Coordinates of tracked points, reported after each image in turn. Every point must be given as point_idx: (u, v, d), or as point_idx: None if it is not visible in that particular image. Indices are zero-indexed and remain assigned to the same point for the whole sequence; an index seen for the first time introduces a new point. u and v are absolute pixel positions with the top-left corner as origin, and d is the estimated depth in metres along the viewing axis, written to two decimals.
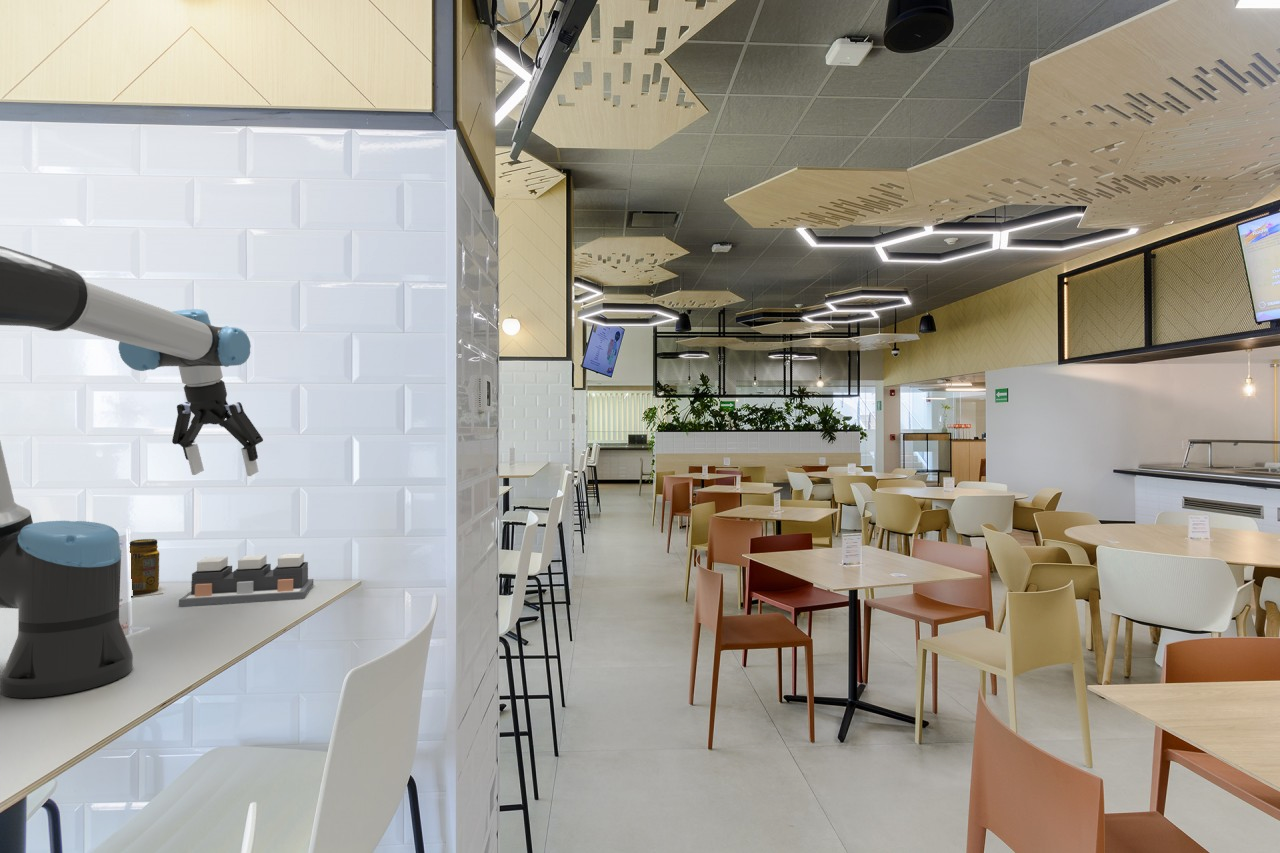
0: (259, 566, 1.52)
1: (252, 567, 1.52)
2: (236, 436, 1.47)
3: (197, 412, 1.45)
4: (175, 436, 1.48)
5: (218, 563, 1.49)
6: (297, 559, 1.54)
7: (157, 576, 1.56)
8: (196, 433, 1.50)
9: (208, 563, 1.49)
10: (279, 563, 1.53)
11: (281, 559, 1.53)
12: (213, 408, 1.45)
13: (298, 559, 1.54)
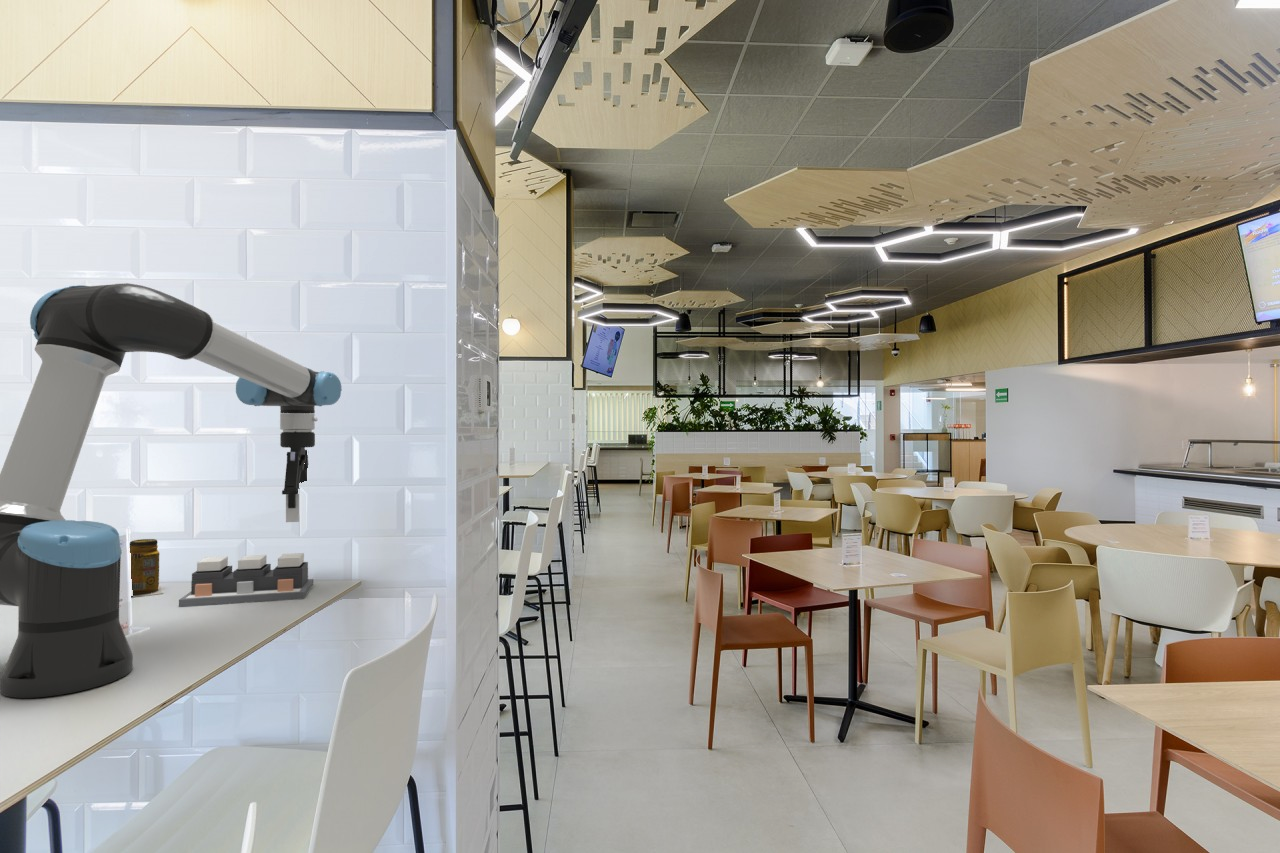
0: (259, 566, 1.52)
1: (252, 567, 1.52)
2: None
3: None
4: None
5: (218, 563, 1.49)
6: (297, 559, 1.54)
7: (157, 576, 1.56)
8: (303, 478, 1.69)
9: (208, 563, 1.49)
10: (279, 563, 1.53)
11: (281, 559, 1.53)
12: None
13: (298, 559, 1.54)
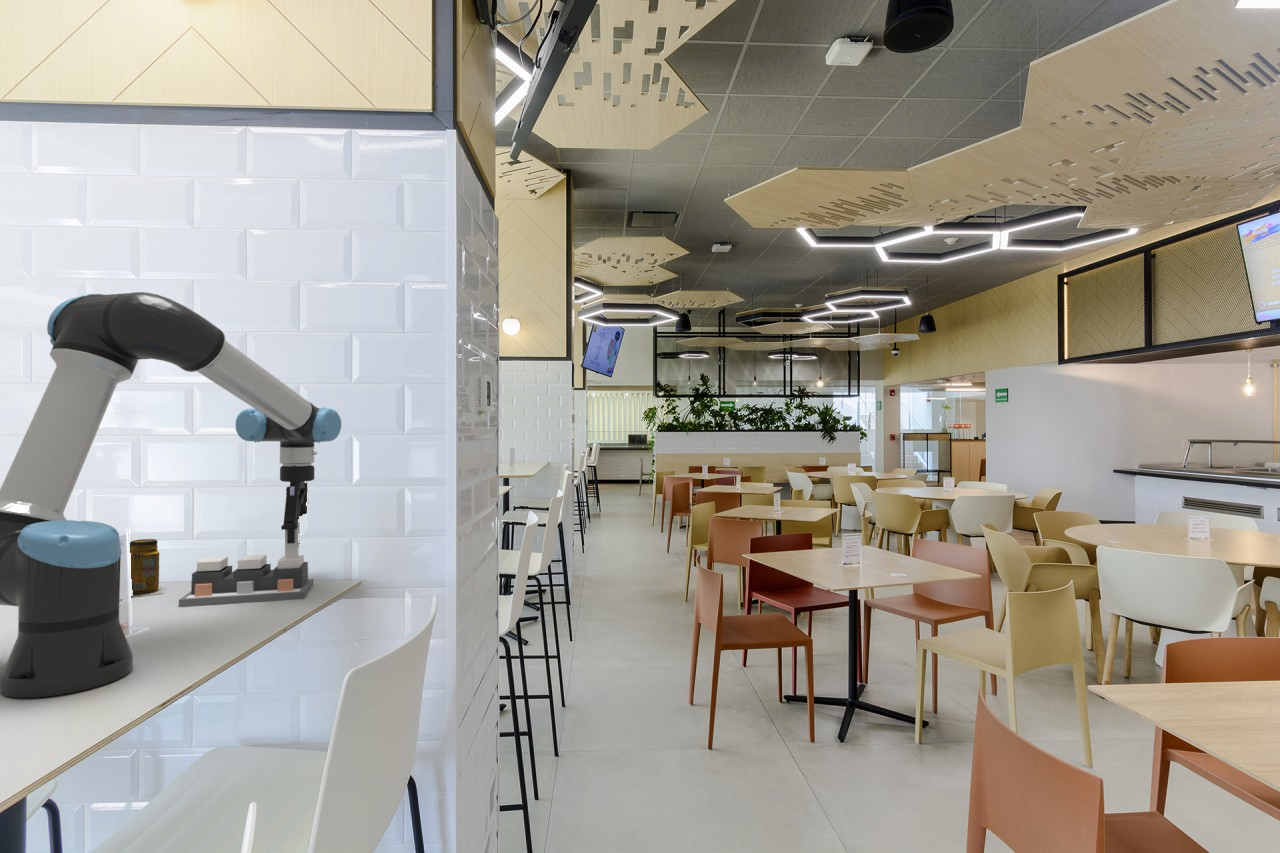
0: (259, 566, 1.52)
1: (252, 567, 1.52)
2: None
3: None
4: None
5: (218, 563, 1.49)
6: (297, 561, 1.54)
7: (157, 576, 1.56)
8: (302, 511, 1.69)
9: (208, 563, 1.49)
10: (279, 565, 1.53)
11: (281, 561, 1.53)
12: None
13: (298, 561, 1.54)
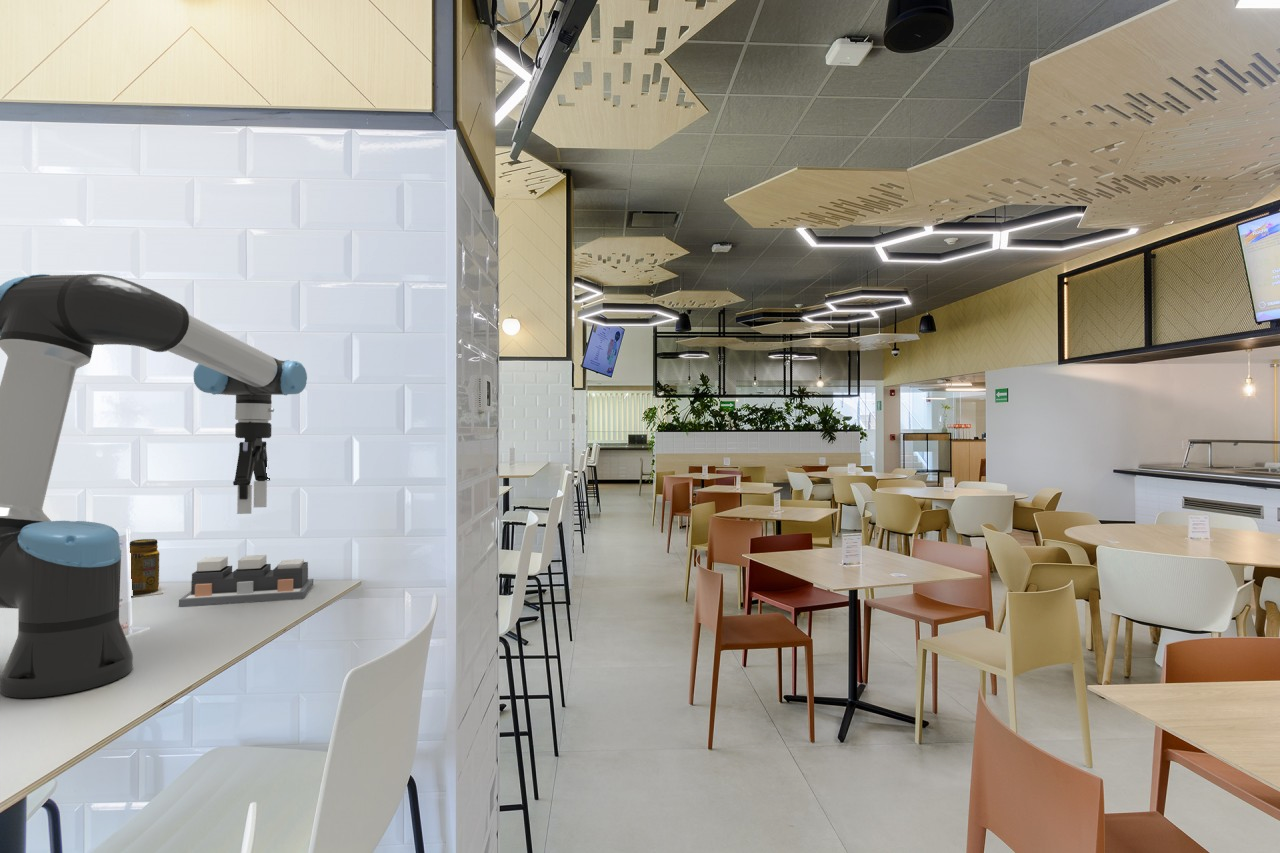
0: (259, 566, 1.52)
1: (252, 567, 1.52)
2: None
3: None
4: None
5: (218, 563, 1.49)
6: (297, 565, 1.54)
7: (157, 576, 1.56)
8: (260, 470, 1.66)
9: (208, 563, 1.49)
10: None
11: (281, 565, 1.53)
12: None
13: (298, 565, 1.54)
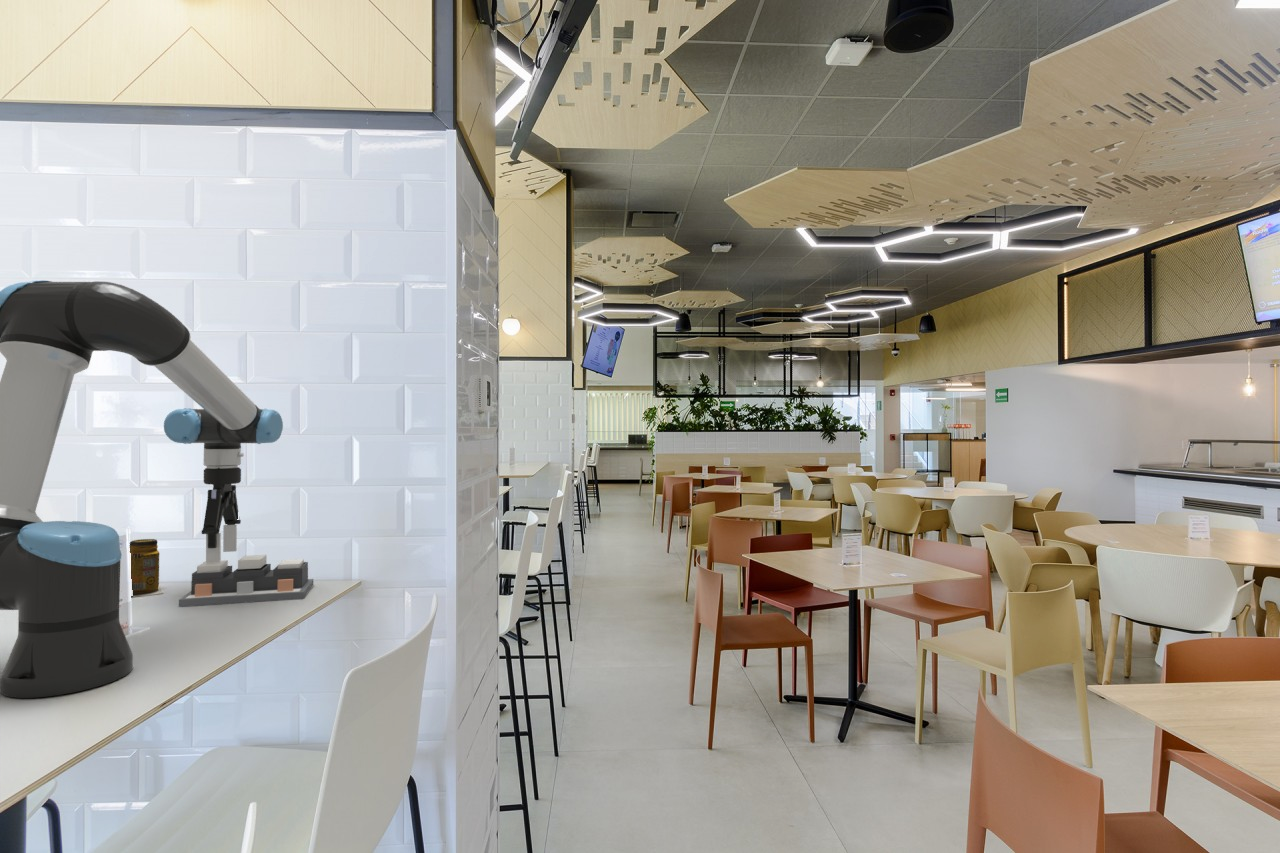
0: (259, 566, 1.52)
1: (252, 567, 1.52)
2: None
3: None
4: None
5: (217, 567, 1.49)
6: (297, 565, 1.54)
7: (157, 576, 1.56)
8: (230, 514, 1.64)
9: (208, 567, 1.49)
10: None
11: (281, 565, 1.53)
12: None
13: (298, 565, 1.54)
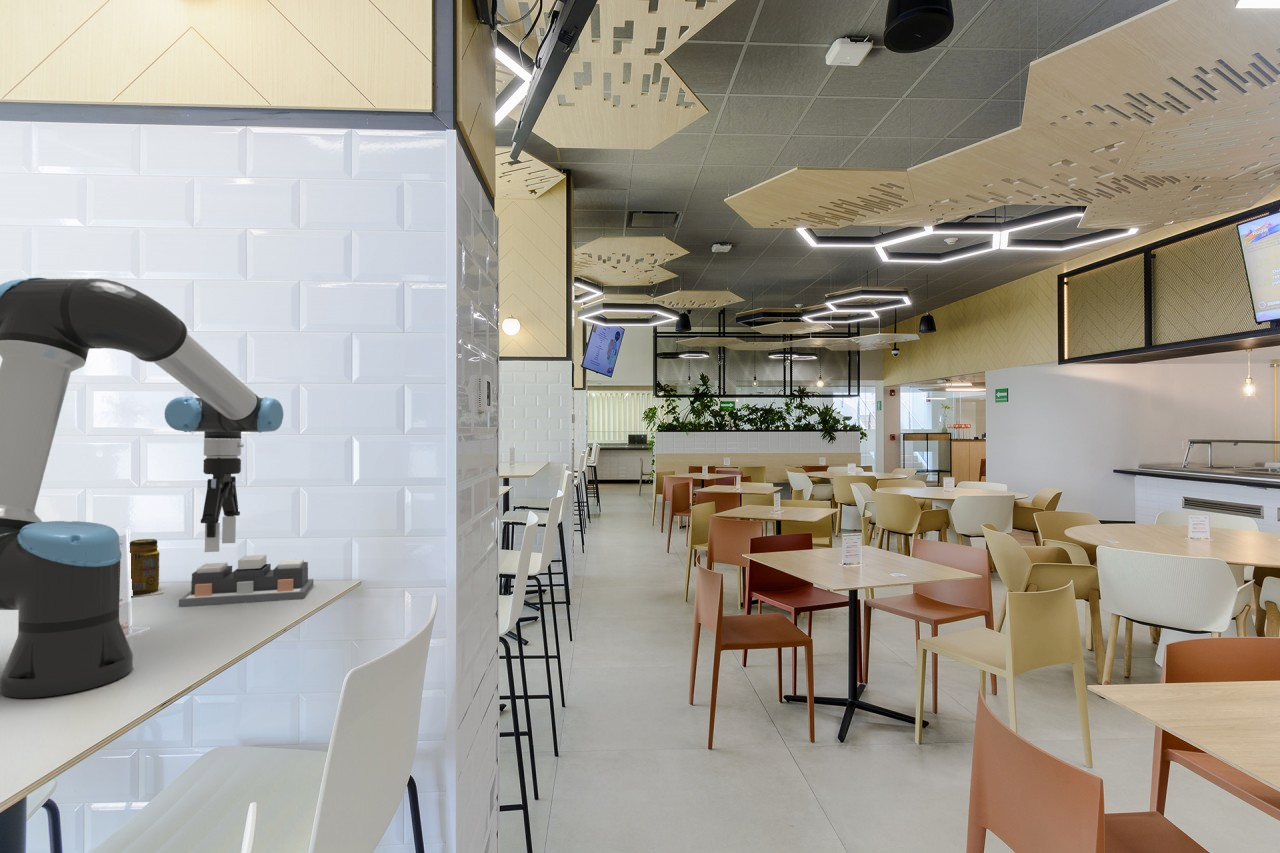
0: (259, 566, 1.52)
1: (252, 567, 1.52)
2: None
3: None
4: None
5: (217, 569, 1.49)
6: (297, 565, 1.54)
7: (157, 576, 1.56)
8: (229, 505, 1.63)
9: (208, 569, 1.49)
10: None
11: (281, 565, 1.53)
12: None
13: (298, 565, 1.54)
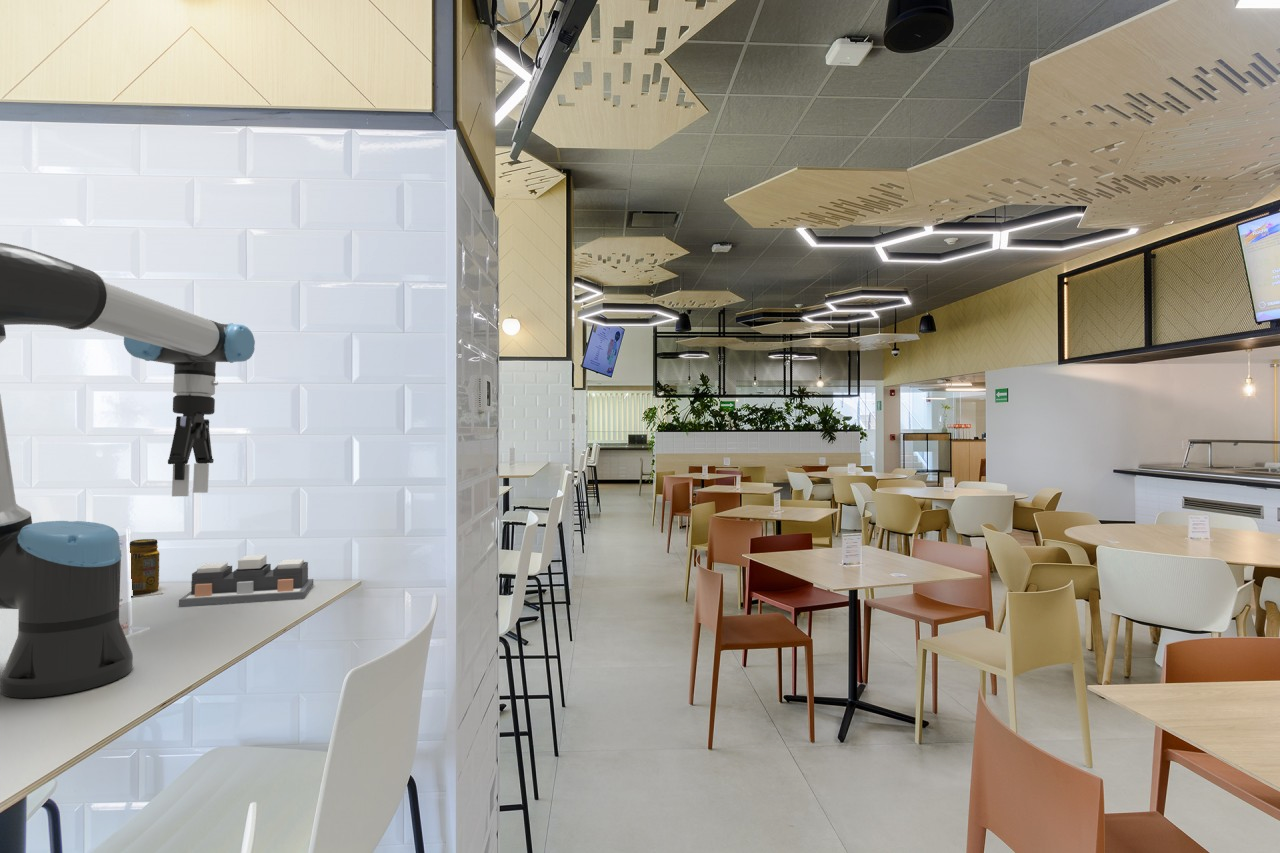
0: (259, 566, 1.52)
1: (252, 567, 1.52)
2: None
3: None
4: None
5: (217, 569, 1.49)
6: (297, 565, 1.54)
7: (157, 576, 1.56)
8: (202, 451, 1.49)
9: (208, 569, 1.49)
10: None
11: (281, 565, 1.53)
12: None
13: (298, 565, 1.54)
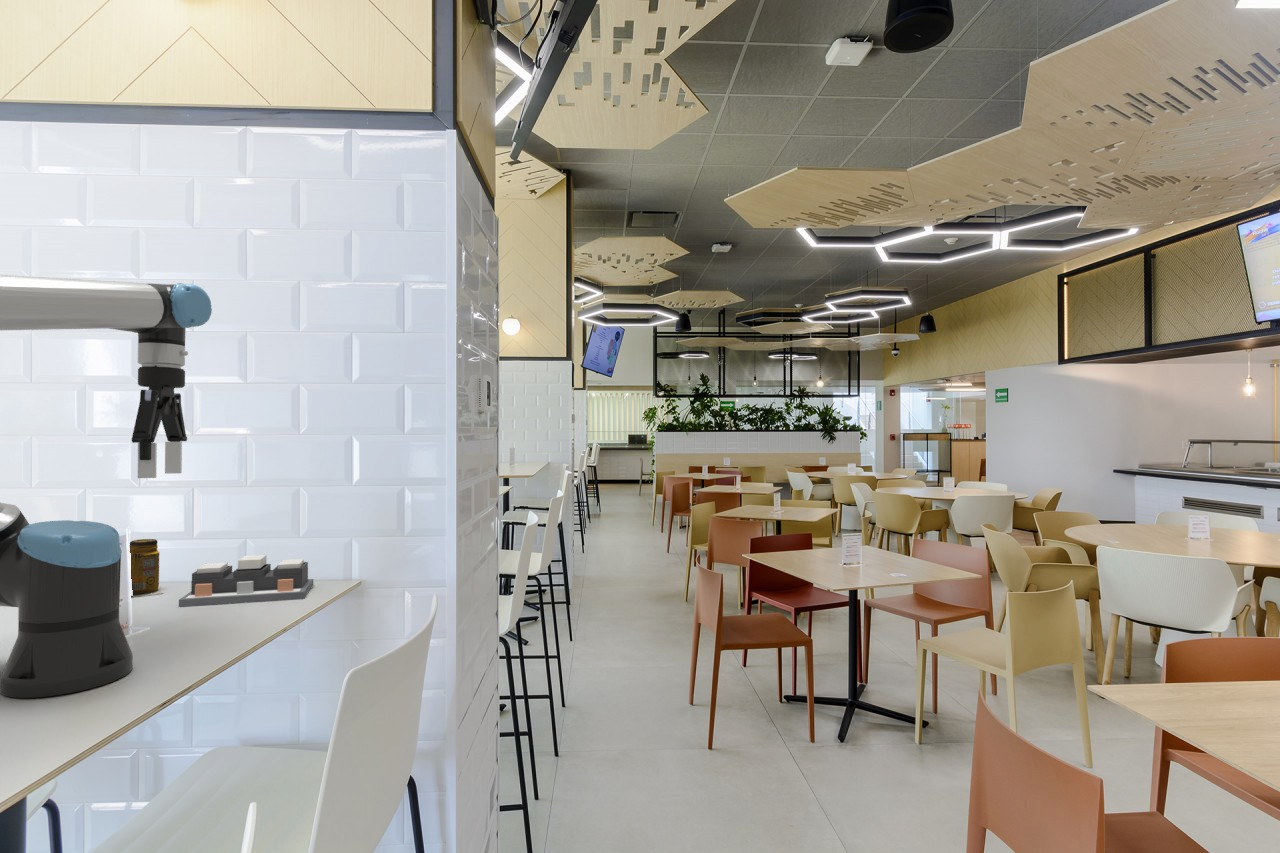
0: (259, 566, 1.52)
1: (252, 567, 1.52)
2: None
3: None
4: None
5: (217, 569, 1.49)
6: (297, 565, 1.54)
7: (157, 576, 1.56)
8: (173, 428, 1.36)
9: (208, 569, 1.49)
10: None
11: (281, 565, 1.53)
12: None
13: (298, 565, 1.54)
